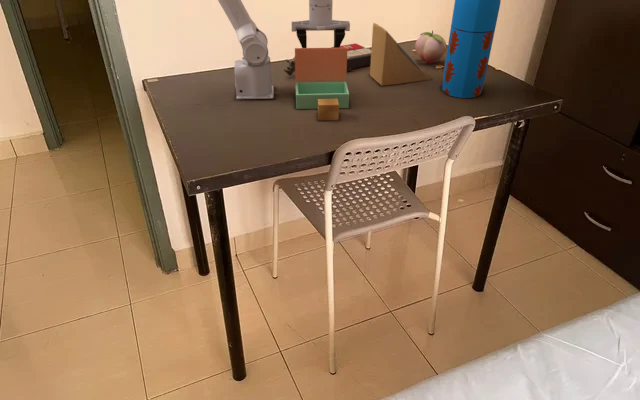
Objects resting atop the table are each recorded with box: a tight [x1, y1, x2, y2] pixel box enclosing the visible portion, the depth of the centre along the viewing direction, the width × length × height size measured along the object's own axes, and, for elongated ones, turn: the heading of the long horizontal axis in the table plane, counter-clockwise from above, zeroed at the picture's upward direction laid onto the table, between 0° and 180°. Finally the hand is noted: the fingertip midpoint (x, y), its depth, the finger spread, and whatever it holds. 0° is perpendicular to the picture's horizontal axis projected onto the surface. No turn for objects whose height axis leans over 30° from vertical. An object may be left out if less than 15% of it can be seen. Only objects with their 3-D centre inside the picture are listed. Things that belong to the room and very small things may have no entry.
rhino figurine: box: [283, 56, 295, 77], centre depth 145 cm, size 4×14×6 cm, turn 133°
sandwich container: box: [369, 22, 431, 87], centre depth 141 cm, size 9×15×15 cm, turn 109°
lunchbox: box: [295, 81, 350, 110], centre depth 130 cm, size 8×13×4 cm, turn 93°
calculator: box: [330, 43, 372, 72], centre depth 153 cm, size 11×4×15 cm
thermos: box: [441, 0, 502, 99], centre depth 130 cm, size 11×11×25 cm
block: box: [317, 99, 340, 121], centre depth 122 cm, size 5×4×4 cm
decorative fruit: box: [414, 30, 447, 65], centre depth 152 cm, size 9×8×10 cm
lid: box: [294, 47, 348, 82], centre depth 130 cm, size 9×13×4 cm
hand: (320, 58), depth 131 cm, fingers open, 7 cm apart
